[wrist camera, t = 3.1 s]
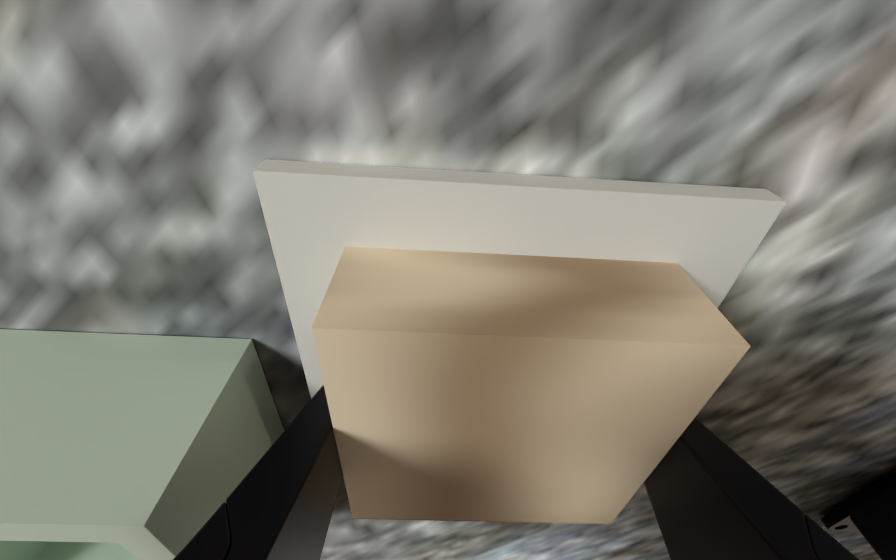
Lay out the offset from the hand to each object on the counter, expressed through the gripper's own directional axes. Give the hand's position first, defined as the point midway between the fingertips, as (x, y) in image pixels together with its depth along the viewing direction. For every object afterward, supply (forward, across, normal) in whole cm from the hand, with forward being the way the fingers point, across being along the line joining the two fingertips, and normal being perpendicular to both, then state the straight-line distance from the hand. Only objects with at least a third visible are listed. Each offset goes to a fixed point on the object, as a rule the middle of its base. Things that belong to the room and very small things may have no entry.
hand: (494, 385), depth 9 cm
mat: (+1, 0, 0) cm, 1 cm away
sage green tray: (+1, +10, +4) cm, 11 cm away
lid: (+1, 0, 0) cm, 1 cm away
